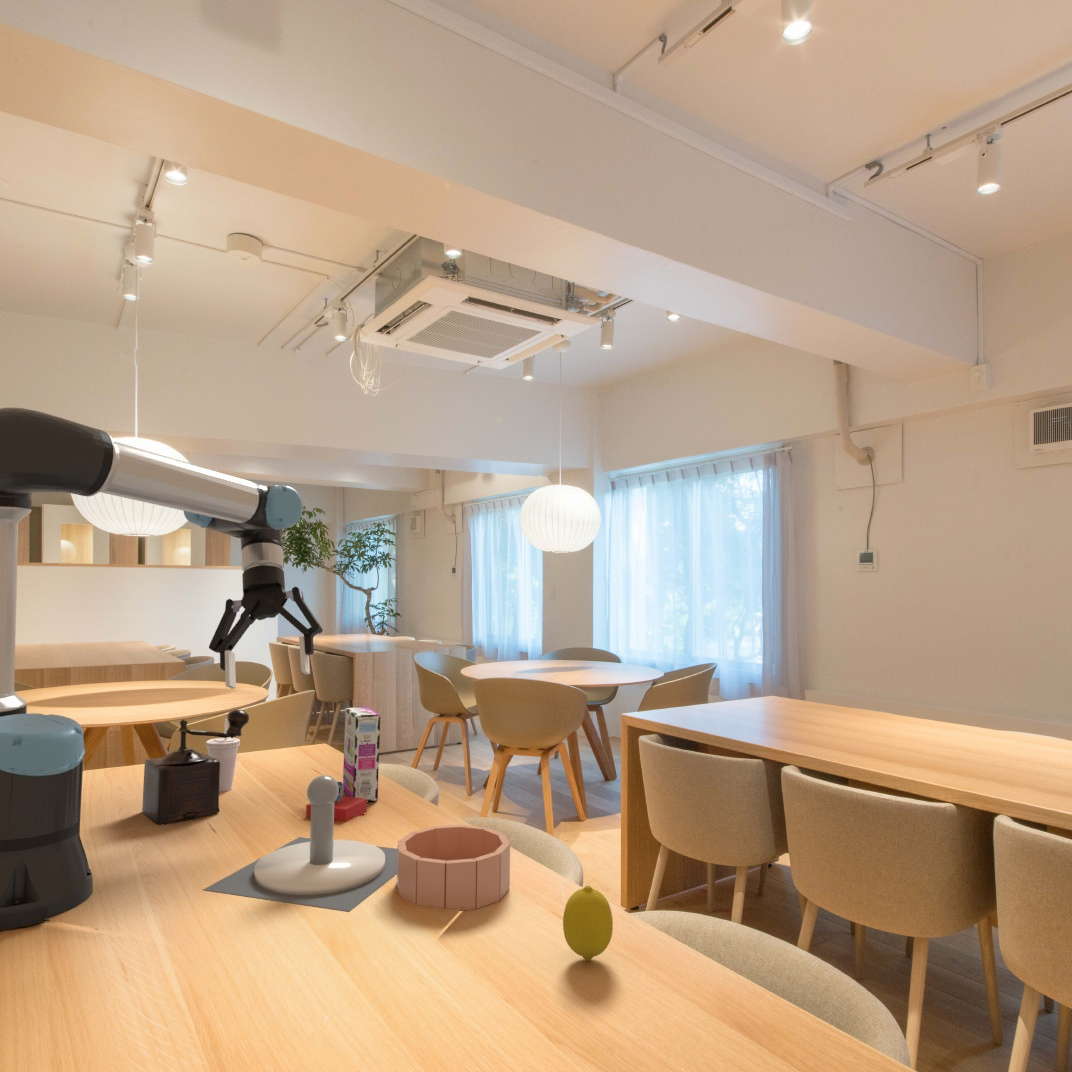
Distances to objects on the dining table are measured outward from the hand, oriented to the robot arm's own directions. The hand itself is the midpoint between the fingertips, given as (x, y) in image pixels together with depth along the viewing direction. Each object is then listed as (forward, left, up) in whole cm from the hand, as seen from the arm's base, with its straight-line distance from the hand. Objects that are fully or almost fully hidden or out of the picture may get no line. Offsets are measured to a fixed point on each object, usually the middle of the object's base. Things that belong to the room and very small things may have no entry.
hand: (268, 680), depth 136 cm
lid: (-20, -24, -23) cm, 40 cm away
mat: (-20, -24, -24) cm, 40 cm away
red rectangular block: (+3, -12, -24) cm, 28 cm away
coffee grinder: (-1, +14, -24) cm, 28 cm away
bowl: (-19, -44, -24) cm, 54 cm away
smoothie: (+12, +19, -24) cm, 32 cm away
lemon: (-33, -66, -24) cm, 78 cm away
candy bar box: (+16, -10, -24) cm, 31 cm away
